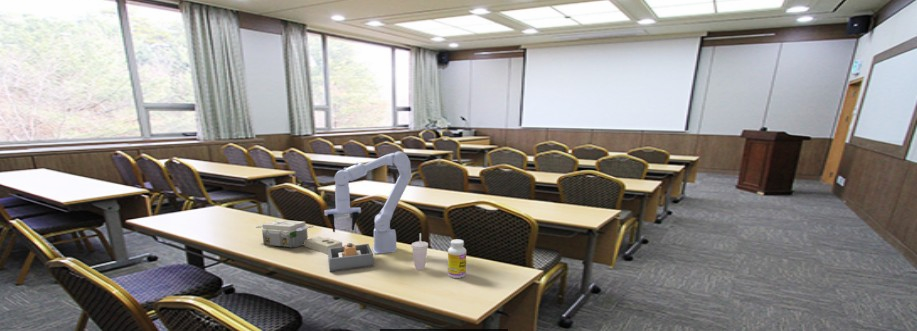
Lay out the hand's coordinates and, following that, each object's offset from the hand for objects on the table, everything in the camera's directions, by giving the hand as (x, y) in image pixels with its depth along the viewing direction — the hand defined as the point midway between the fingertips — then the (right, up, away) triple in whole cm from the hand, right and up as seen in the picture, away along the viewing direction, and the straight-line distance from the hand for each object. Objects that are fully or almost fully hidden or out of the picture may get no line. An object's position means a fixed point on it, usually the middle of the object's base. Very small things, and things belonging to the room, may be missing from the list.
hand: (343, 230), depth 159 cm
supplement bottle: (+48, -13, -21) cm, 54 cm away
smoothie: (+34, -12, -15) cm, 39 cm away
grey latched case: (-31, -9, +14) cm, 35 cm away
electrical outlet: (-11, -10, +8) cm, 17 cm away
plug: (+6, -10, -10) cm, 15 cm away
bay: (+6, -11, -10) cm, 16 cm away
